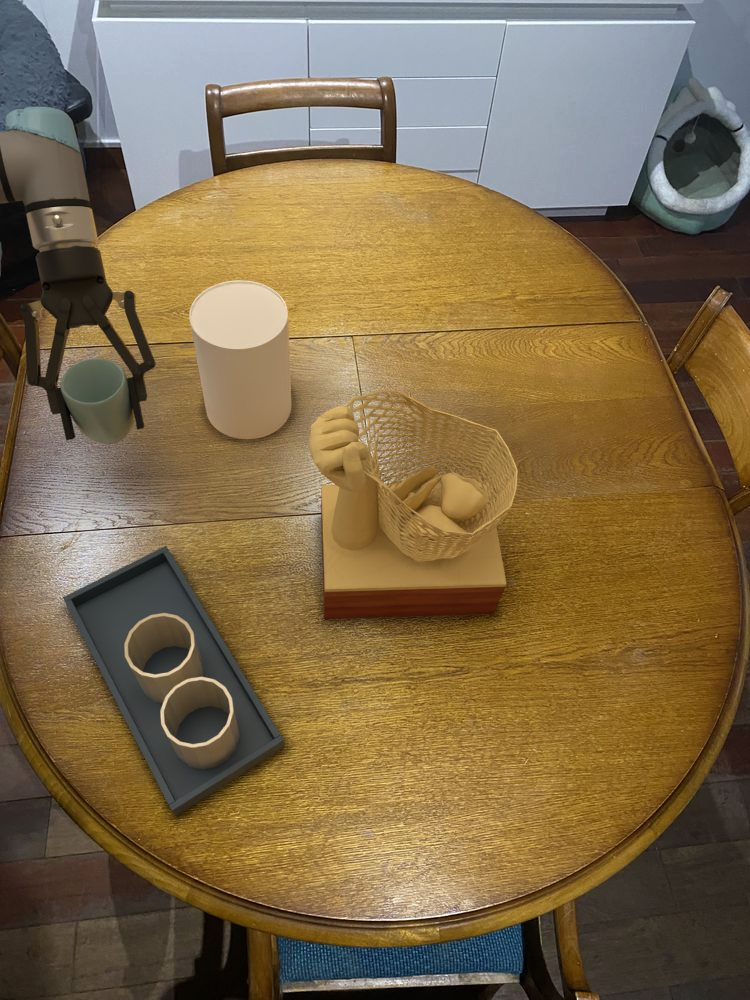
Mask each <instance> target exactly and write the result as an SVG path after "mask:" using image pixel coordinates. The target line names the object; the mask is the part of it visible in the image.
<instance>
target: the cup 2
mask: <svg viewBox="0 0 750 1000" xmlns="http://www.w3.org/2000/svg"><path fill="white" fill-rule="evenodd" d="M124 645H125V658H126V660H127V662H128V663H129V665H130V667H131V669H132V671H133V673H134V675H135V677H136V678H137V680H138V682H139V684H140V686H141V688H142V690H143V692H144V693H145V695H146V696H148V697H149V698H150V699H152V700H153V701H154V702H158V703H163V702H164V699H165V697H166V696H167V695H168V693H169V692H170V691H171V690H172V689H173V687H174V686H176V685H178V684H179V683H181V682H183V681H185V680H186V679H190V678H196V677H203V675H204V668H203V661H202V658H201V654H200V651H199V648H198V645H197V642H196V639H195V636H194V633H193V631H192V629H191V628H190V626H189V624H188V623H187V622H186V621H185V620H183V619H182V618H180V617H179V616H177V615H172V614H167V613H161V614H154V615H150V616H148V617H146V618H144V619H143V620H141V621H139V622H138V623H137V624H136V625H135V626H134V627H133V628H132V629H131V630H130V632H129V634H128V636H127V639H126V641H125V644H124ZM172 646H178V647H183V648H187V649H188V650H189V653H188V656H187V657H186V659H185V660H184V661H183V662H182V663H181V664H180V666H178V667H177V668H175V669H173V670H171V671H169V672H167V673H161V674H150V673H145V672H143V670H144V667H145V664H146V662H147V661H148V660H149V659H150V657H151V656H152V655H153V654H154V653H156V652H158V651H159V650H161V649H163V648H166V647H172Z"/></svg>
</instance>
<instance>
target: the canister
mask: <svg viewBox="0 0 750 1000" xmlns="http://www.w3.org/2000/svg"><path fill="white" fill-rule="evenodd" d="M288 309H289V308H288V306H287V303H286V301H285V300H284V298H283V297H282V296H281V294H280V293H278V292H277V291H276V290H275V289H273V288H272V287H270V286H269V285H266V284H263V283H261V282H258V281H253V280H246V279H245V280H243V279H237V280H236V279H235V280H226V281H223V282H219V283H216V284H213V285H212V286H209V287H208V288H206V289H204V290H203V291H201V292H200V293H199V294H198V295H197V296H196V297H195V299H194V300H193V302H192V303H191V305H190V308H189V311H188V312H189V314H188V317H189V325H190V329H191V335H192V340H193V341H192V342H193V346H194V352H195V357H196V362H197V368H198V374H199V379H200V385H201V390H202V391H201V392H202V396H203V402H204V407H205V412H206V413H205V414H206V417H207V419H208V421H209V422H210V424H211V425H212V427H214V428H215V429H216V430H217V431H218V432H220V433H221V434H223V435H225V436H228V437H231V438H233V439H239V440H240V439H241V440H255V439H260V438H264V437H267V436H269V435H272V434H274V433H275V432H276V431H278V430H279V429H281V428H283V426H284V425H285V424H286V423H287V421H288V419H289V418H290V415H291V412H292V387H291V386H292V385H291V384H292V383H291V356H290V333H289V331H290V330H289V310H288Z"/></svg>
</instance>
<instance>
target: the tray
mask: <svg viewBox="0 0 750 1000" xmlns="http://www.w3.org/2000/svg"><path fill="white" fill-rule="evenodd" d="M62 599H63V601H64V603H65V605H66V607H67V609H68V611H69V613H70V615H71V618H73V619H72V620H74V622H75V624H76V626H77V628H78V631H79V633H80V634H81V636H82V638H83V640H84V642H85V644H86V646H87V648H88V650H89V652H90V654H91V657H92V658H93V660H94V662H95V664H96V666H97V668H98V669H99V671H100V673H101V675H102V677H103V680H104V682H105V684H106V685H107V687H108V689H109V690H110V693H111V695H112V696H113V699H114V701H115V703H116V705H117V707H118V709H119V710H120V713H121V715H122V716H123V718H124V720H125V723H126V725H127V726H128V728H129V730H130V732H131V734H132V736H133V738H134V741H135V742H136V744H137V746H138V748H139V750H140V752H141V754H142V756H143V758H144V760H145V762H146V763H147V766H148V768H149V769H150V771H151V773H152V775H153V777H154V779H155V781H156V784H157V785H158V787H159V789H160V791H161V793H162V795H163V797H164V799H165V801H166V803H167V805H168V806H169V809H170V810H171V812H172V814H173V815H174V816H175V817H177V816H179V815H181V814H183V813H184V812H185V811H187V810H189V809H191V808H193V807H194V806H195V805H197V804H198V803H200V802H202V801H203V800H205V799H206V798H208V797H209V796H211V795H213V794H214V793H215V792H217V791H220V789H222V788H224V787H225V786H227V785H229V784H230V783H231V782H233V781H235V780H236V779H238V778H239V777H241V776H242V775H244V774H246V773H247V772H249V771H251V770H252V769H253V768H255V767H257V766H258V765H260V764H261V763H263V762H264V761H266V760H267V759H269V758H271V757H272V756H274V755H276V754H277V753H279V752H280V751H282V750H283V749H285V739H284V738H283V736H282V735H281V733H280V731H279V729H278V728H277V726H276V725H275V723H274V721H273V720H272V718H271V717H270V715H269V713H268V711H267V710H266V708H265V707H264V705H263V703H262V702H261V700H260V699H259V697H258V695H257V693H256V691H255V690H254V688H253V686H252V685H251V684H250V682H249V680H248V679H247V677H246V675H245V674H244V672H243V670H242V668H241V666H239V664H238V662H237V660H236V659H235V657H234V655H233V654H232V652H231V650H230V649H229V647H228V645H227V643H226V642H225V640H224V639H223V637H222V635H221V634H220V632H219V631H218V629H217V627H216V626H215V624H214V623H213V621H212V619H211V617H210V615H209V614H208V612H207V610H206V608H204V606H203V604H202V603H201V601H200V599H199V597H198V596H197V594H196V592H195V591H194V589H193V588H192V586H191V584H190V583H189V581H188V579H187V578H186V576H185V574H184V572H183V571H182V570H181V568H180V566H179V564H178V563H177V561H176V560H175V558H174V556H173V554H172V553H171V552H170V550H169V548H168V547H167V545H164V546H163V547H161V548H158V549H157V550H154V551H152V552H151V553H148V554H147V555H144V556H142V557H140V558H139V559H137V560H134V561H133V562H130V563H129V564H126V565H125V566H123V567H121V568H118V569H117V570H114V571H113V572H111V573H109V574H106V575H105V576H102V577H101V578H99V579H97V580H94V581H91V582H90V583H89V584H87V585H85V586H84V585H83V586H82V587H80V588H78V589H77V590H74V591H71V592H70V593H69V594H66V595H65V596H63V597H62ZM161 613H167V614H172V615H177V616H179V617H180V618H182V619H183V620H185V621H186V622H187V623H188V624H189V626H190V628H191V629H192V631H193V633H194V636H195V639H196V642H197V645H198V648H199V651H200V654H201V658H202V661H203V668H204V675H203V677H206V678H210V679H215V680H216V681H218V682H219V683H221V684H222V685H223V686H225V687H226V689H227V690H228V692H229V694H230V695H231V697H232V700H233V704H234V707H235V711H236V715H237V719H238V722H239V729H240V739H239V742H238V746H237V749H236V750H235V752H234V753H233V754H232V756H231V757H230V758H229V759H228V760H227V761H226V762H224V763H222V764H221V765H219V766H218V767H215V768H210V769H205V770H201V769H196V768H192V767H189V766H188V765H186V764H185V763H184V762H182V761H181V760H180V759H179V757H178V755H177V754H176V752H175V750H174V748H173V746H172V744H171V742H170V740H169V739H168V737H167V735H166V733H165V731H164V729H163V727H162V725H161V714H160V710H161V708H162V705H163V703H158V702H154V701H153V700H152V699H150V698H149V697H148V696H146V695H145V693H144V692H143V690H142V688H141V686H140V684H139V682H138V680H137V678H136V677H135V675H134V673H133V671H132V669H131V667H130V665H129V663H128V662H127V660H126V658H125V645H124V644H125V641H126V639H127V636H128V634H129V632H130V630H131V629H132V628H133V627H134V626H135V625H136V624H137V623H138V622H139V621H141V620H143V619H144V618H146V617H148V616H150V615H154V614H161ZM188 653H189V650H188V649H187V648H183V647H178V646H172V647H166V648H163V649H161V650H159V651H158V652H156V653H154V654H153V655H152V656H151V657H150V659H149V660H148V661H147V662H146V664H145V667H144V670H143V672H145V673H150V674H161V673H167V672H169V671H171V670H173V669H175V668H177V667H178V666H180V664H181V663H182V662H183V661H184V660H185V659H186V657H187V656H188ZM228 717H229V714H228V713H227V712H225V711H224V710H222V709H221V708H216V707H211V706H208V707H202V708H198V709H196V710H194V711H193V712H191V713H189V714H188V715H187V716H186V717H185V718H184V720H183V721H182V722H181V723H180V725H179V728H178V731H177V734H176V739H178V740H179V741H180V742H185V743H190V744H197V743H203V742H207V741H209V740H210V739H212V738H214V737H215V736H217V735H218V734H219V733H220V732H221V730H222V729H223V728H224V726H225V725H226V724H227V720H228Z"/></svg>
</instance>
